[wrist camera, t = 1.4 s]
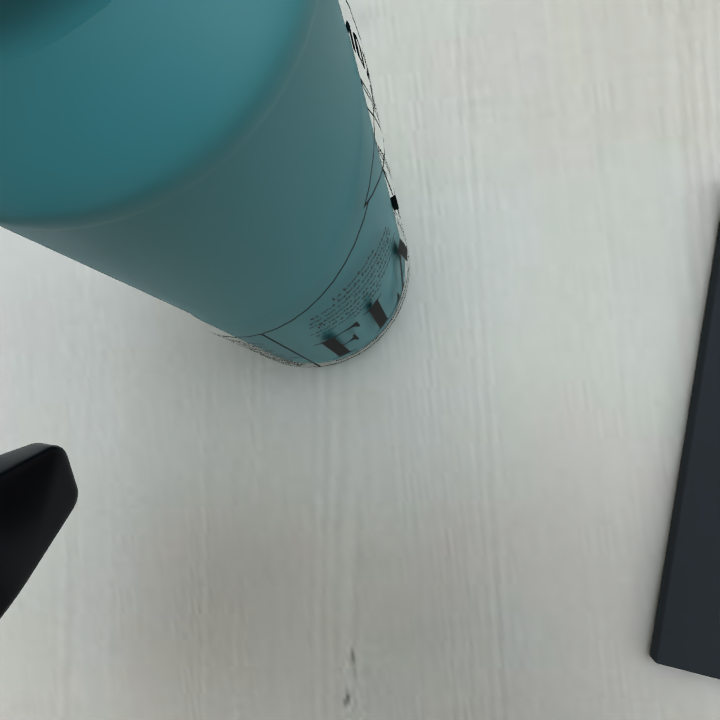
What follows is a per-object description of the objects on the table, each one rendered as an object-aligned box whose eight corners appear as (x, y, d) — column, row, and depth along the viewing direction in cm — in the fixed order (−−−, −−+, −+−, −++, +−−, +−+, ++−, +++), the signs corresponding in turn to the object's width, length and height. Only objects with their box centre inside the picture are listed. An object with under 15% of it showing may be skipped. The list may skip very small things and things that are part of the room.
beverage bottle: (358, 405, 21) (-671, 109, 2) (205, 320, 22) (-1474, -450, 3) (446, 246, 22) (466, -1700, 2) (290, 170, 23) (-710, -1514, 3)
